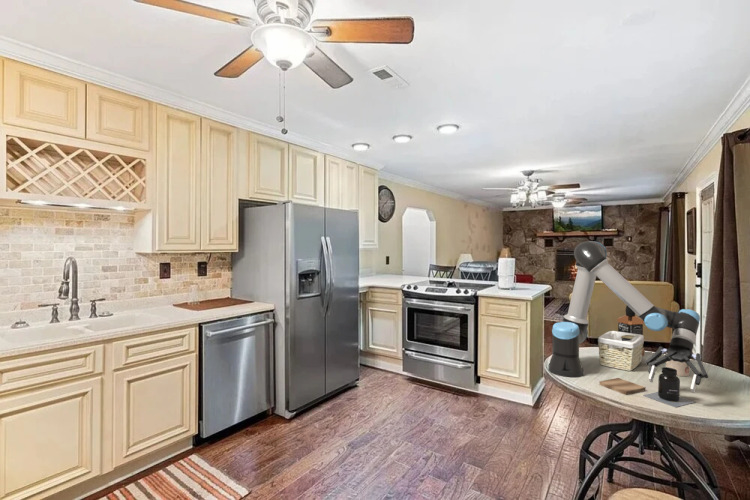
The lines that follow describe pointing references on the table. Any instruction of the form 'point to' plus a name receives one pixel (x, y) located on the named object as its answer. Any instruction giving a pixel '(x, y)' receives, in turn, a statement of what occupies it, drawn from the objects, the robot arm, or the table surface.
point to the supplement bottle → (669, 385)
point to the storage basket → (620, 350)
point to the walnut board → (622, 386)
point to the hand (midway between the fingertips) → (670, 385)
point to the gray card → (675, 404)
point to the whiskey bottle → (630, 324)
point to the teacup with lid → (678, 367)
